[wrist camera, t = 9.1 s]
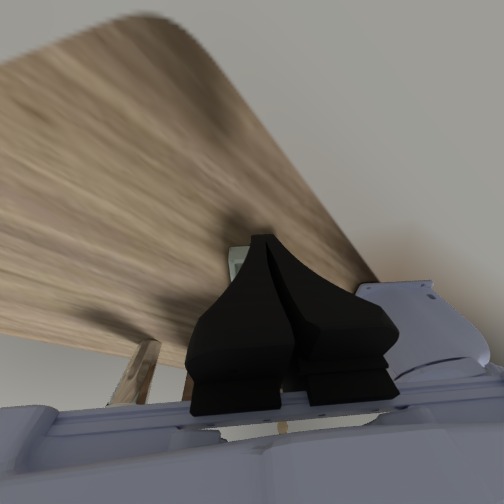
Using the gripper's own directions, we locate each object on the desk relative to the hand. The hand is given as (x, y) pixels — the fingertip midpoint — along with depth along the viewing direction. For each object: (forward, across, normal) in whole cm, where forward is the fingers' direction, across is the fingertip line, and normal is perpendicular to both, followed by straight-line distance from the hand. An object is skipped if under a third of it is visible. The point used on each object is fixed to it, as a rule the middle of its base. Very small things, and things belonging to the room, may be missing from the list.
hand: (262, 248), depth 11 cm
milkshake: (+6, +17, +22) cm, 28 cm away
